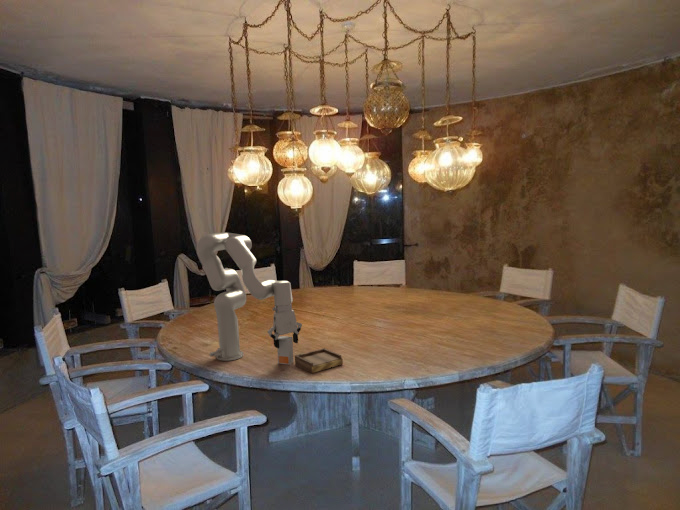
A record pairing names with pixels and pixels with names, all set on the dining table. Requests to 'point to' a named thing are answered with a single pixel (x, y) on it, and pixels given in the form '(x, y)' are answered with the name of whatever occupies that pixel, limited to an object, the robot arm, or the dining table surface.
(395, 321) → the dining table surface
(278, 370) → the dining table surface
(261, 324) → the dining table surface
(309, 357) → the wooden tray
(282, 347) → the skincare box
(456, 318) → the dining table surface
